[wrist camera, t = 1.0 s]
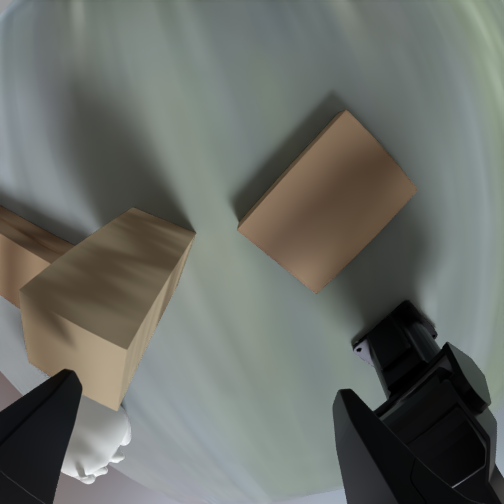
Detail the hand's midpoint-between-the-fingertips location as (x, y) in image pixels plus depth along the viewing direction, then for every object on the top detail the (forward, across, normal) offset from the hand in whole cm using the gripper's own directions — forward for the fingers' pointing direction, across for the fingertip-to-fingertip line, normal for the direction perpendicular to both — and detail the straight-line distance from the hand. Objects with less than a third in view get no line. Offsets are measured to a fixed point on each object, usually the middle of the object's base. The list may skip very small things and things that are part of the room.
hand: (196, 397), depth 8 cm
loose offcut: (+13, -7, -3) cm, 15 cm away
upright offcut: (+13, +5, 0) cm, 14 cm away
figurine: (+13, +17, +20) cm, 29 cm away
